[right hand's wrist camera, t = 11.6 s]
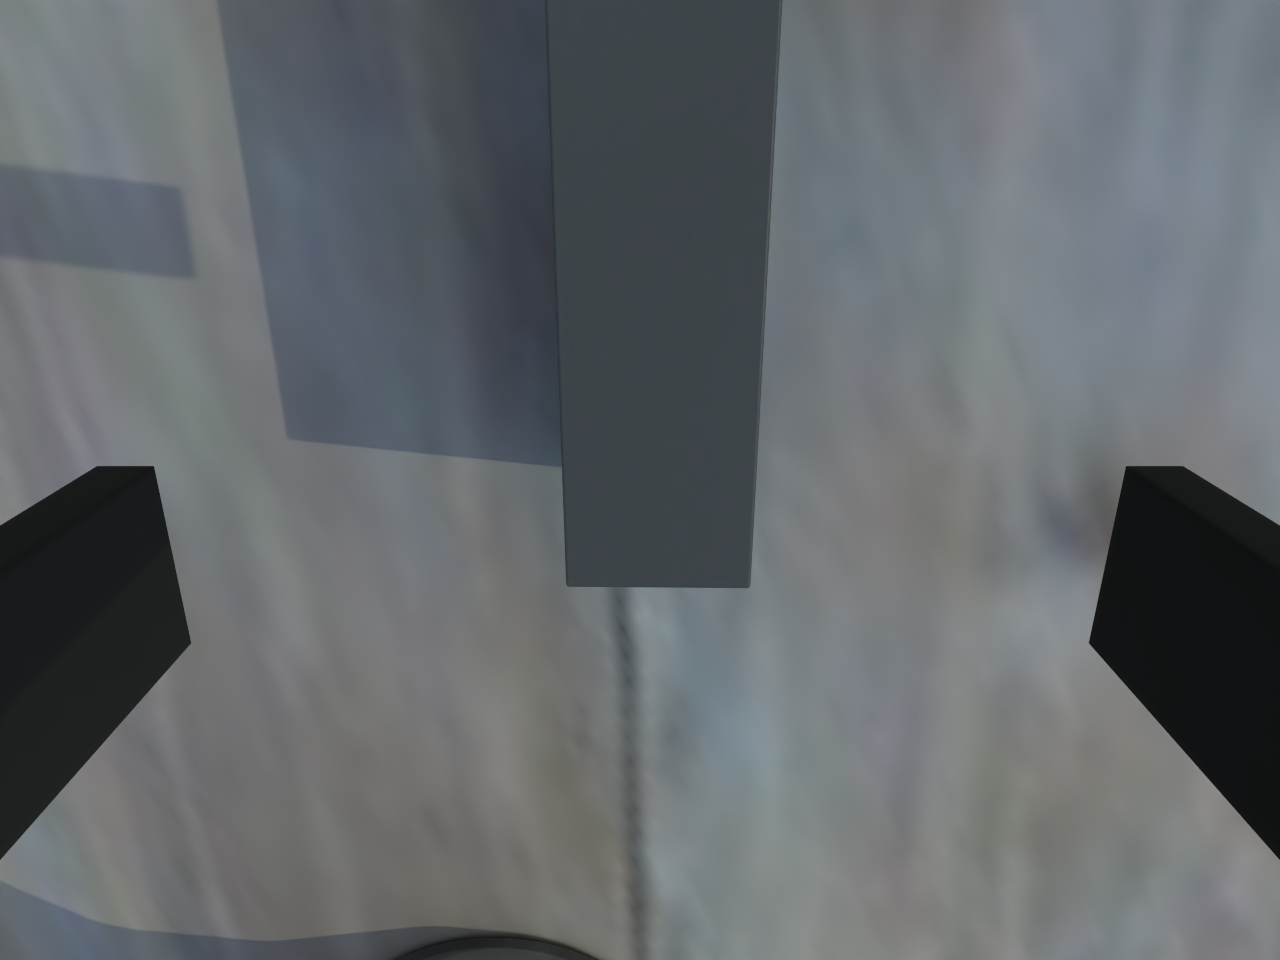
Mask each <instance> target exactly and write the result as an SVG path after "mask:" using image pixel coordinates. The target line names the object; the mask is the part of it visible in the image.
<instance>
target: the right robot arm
mask: <svg viewBox="0 0 1280 960" xmlns="http://www.w3.org/2000/svg"><path fill="white" fill-rule="evenodd" d="M190 644H191V641H190V636H189V631H188V626H187V622H186V617H185V612H184V607H183V603H182V598H181V593H180V588H179V584H178V579H177V574H176V569H175V565H174V560H173V555H172V550H171V546H170V541H169V536H168V531H167V527H166V522H165V517H164V512H163V508H162V503H161V498H160V493H159V489H158V484H157V479H156V474H155V470H154V466H97V467H95V468H93V469H92V470H90V471H89V472H87V473H85V474H84V475H82V476H80V477H79V478H77V479H75V480H74V481H72V482H71V483H69V484H67V485H66V486H64V487H62V488H61V489H59V490H58V491H56V492H54V493H53V494H51V495H49V496H48V497H46V498H44V499H43V500H41V501H40V502H38V503H36V504H35V505H33V506H31V507H30V508H28V509H27V510H25V511H23V512H22V513H20V514H18V515H17V516H15V517H13V518H12V519H10V520H9V521H7V522H5V523H4V524H2V525H0V859H1V858H2V857H3V856H4V855H5V854H6V853H7V851H8V850H9V849H10V848H11V847H12V846H13V845H14V844H15V842H16V841H17V840H18V839H19V838H20V837H21V836H22V834H23V833H24V832H25V831H26V830H27V829H28V828H29V826H30V825H31V824H32V823H33V822H34V821H35V820H36V819H37V817H38V816H39V815H40V814H41V813H42V812H43V811H44V809H45V808H46V807H47V806H48V805H49V804H50V803H51V802H52V800H53V799H54V798H55V797H56V796H57V795H58V794H59V792H60V791H61V790H62V789H63V788H64V787H65V786H66V784H67V783H68V782H69V781H70V780H71V779H72V778H73V777H74V775H75V774H76V773H77V772H78V771H79V770H80V769H81V767H82V766H83V765H84V764H85V763H86V762H87V761H88V760H89V758H90V757H91V756H92V755H93V754H94V753H95V752H96V750H97V749H98V748H99V747H100V746H101V745H102V744H103V742H104V741H105V740H106V739H107V738H108V737H109V736H110V735H111V733H112V732H113V731H114V730H115V729H116V728H117V727H118V725H119V724H120V723H121V722H122V721H123V720H124V719H125V718H126V716H127V715H128V714H129V713H130V712H131V711H132V710H133V708H134V707H135V706H136V705H137V704H138V703H139V702H140V700H141V699H142V698H143V697H144V696H145V695H146V694H147V693H148V691H149V690H150V689H151V688H152V687H153V686H154V685H155V683H156V682H157V681H158V680H159V679H160V678H161V677H162V676H163V674H164V673H165V672H166V671H167V670H168V669H169V668H170V666H171V665H172V664H173V663H174V662H175V661H176V660H177V658H178V657H179V656H180V655H181V654H182V653H183V652H184V651H185V649H186V648H187V647H188V646H189V645H190ZM1089 644H1090V645H1091V646H1092V647H1093V648H1094V649H1095V651H1096V652H1097V653H1098V654H1099V655H1100V656H1101V657H1102V658H1103V660H1104V661H1105V662H1106V663H1107V664H1108V665H1109V666H1110V668H1111V669H1112V670H1113V671H1114V672H1115V673H1116V674H1117V676H1118V677H1119V678H1120V679H1121V680H1122V681H1123V682H1124V683H1125V685H1126V686H1127V687H1128V688H1129V689H1130V690H1131V691H1132V693H1133V694H1134V695H1135V696H1136V697H1137V698H1138V699H1139V700H1140V702H1141V703H1142V704H1143V705H1144V706H1145V707H1146V708H1147V710H1148V711H1149V712H1150V713H1151V714H1152V715H1153V716H1154V718H1155V719H1156V720H1157V721H1158V722H1159V723H1160V724H1161V725H1162V727H1163V728H1164V729H1165V730H1166V731H1167V732H1168V733H1169V735H1170V736H1171V737H1172V738H1173V739H1174V740H1175V741H1176V742H1177V744H1178V745H1179V746H1180V747H1181V748H1182V749H1183V750H1184V752H1185V753H1186V754H1187V755H1188V756H1189V757H1190V758H1191V760H1192V761H1193V762H1194V763H1195V764H1196V765H1197V766H1198V767H1199V769H1200V770H1201V771H1202V772H1203V773H1204V774H1205V775H1206V777H1207V778H1208V779H1209V780H1210V781H1211V782H1212V783H1213V784H1214V786H1215V787H1216V788H1217V789H1218V790H1219V791H1220V792H1221V794H1222V795H1223V796H1224V797H1225V798H1226V799H1227V800H1228V802H1229V803H1230V804H1231V805H1232V806H1233V807H1234V808H1235V809H1236V811H1237V812H1238V813H1239V814H1240V815H1241V816H1242V817H1243V819H1244V820H1245V821H1246V822H1247V823H1248V824H1249V825H1250V826H1251V828H1252V829H1253V830H1254V831H1255V832H1256V833H1257V834H1258V836H1259V837H1260V838H1261V839H1262V840H1263V841H1264V842H1265V844H1266V845H1267V846H1268V847H1269V848H1270V849H1271V850H1272V851H1273V853H1274V854H1275V855H1276V856H1277V857H1278V858H1279V859H1280V525H1278V524H1276V523H1275V522H1273V521H1271V520H1270V519H1268V518H1267V517H1265V516H1263V515H1262V514H1260V513H1258V512H1257V511H1255V510H1253V509H1252V508H1250V507H1249V506H1247V505H1245V504H1244V503H1242V502H1240V501H1239V500H1237V499H1236V498H1234V497H1232V496H1231V495H1229V494H1227V493H1226V492H1224V491H1222V490H1221V489H1219V488H1218V487H1216V486H1214V485H1213V484H1211V483H1209V482H1208V481H1206V480H1205V479H1203V478H1201V477H1200V476H1198V475H1196V474H1195V473H1193V472H1191V471H1190V470H1188V469H1187V468H1185V467H1183V466H1126V470H1125V474H1124V479H1123V484H1122V489H1121V493H1120V498H1119V503H1118V508H1117V512H1116V517H1115V522H1114V527H1113V531H1112V536H1111V541H1110V546H1109V550H1108V555H1107V560H1106V565H1105V569H1104V574H1103V579H1102V584H1101V588H1100V593H1099V598H1098V603H1097V607H1096V612H1095V617H1094V622H1093V626H1092V631H1091V636H1090V641H1089ZM398 960H594V959H592V958H590V957H588V956H585V955H583V954H580V953H578V952H575V951H572V950H569V949H566V948H563V947H559V946H555V945H551V944H547V943H543V942H537V941H531V940H525V939H514V938H472V939H464V940H456V941H451V942H446V943H441V944H437V945H434V946H430V947H427V948H423V949H421V950H418V951H416V952H413V953H410V954H408V955H406V956H404V957H402V958H400V959H398Z"/></svg>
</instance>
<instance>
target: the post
mask: <svg viewBox="0 0 1280 960" xmlns="http://www.w3.org/2000/svg"><path fill="white" fill-rule="evenodd" d="M545 4H546V32H547V60H548V88H549V116H550V144H551V172H552V200H553V227H554V255H555V283H556V311H557V339H558V367H559V395H560V422H561V450H562V478H563V506H564V534H565V562H566V584H567V586H569V587H695V588H749V587H750V581H751V562H752V544H753V526H754V507H755V489H756V471H757V453H758V434H759V416H760V398H761V379H762V361H763V343H764V324H765V306H766V288H767V269H768V251H769V233H770V214H771V196H772V178H773V159H774V141H775V123H776V105H777V86H778V68H779V50H780V31H781V13H782V0H545Z"/></svg>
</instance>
